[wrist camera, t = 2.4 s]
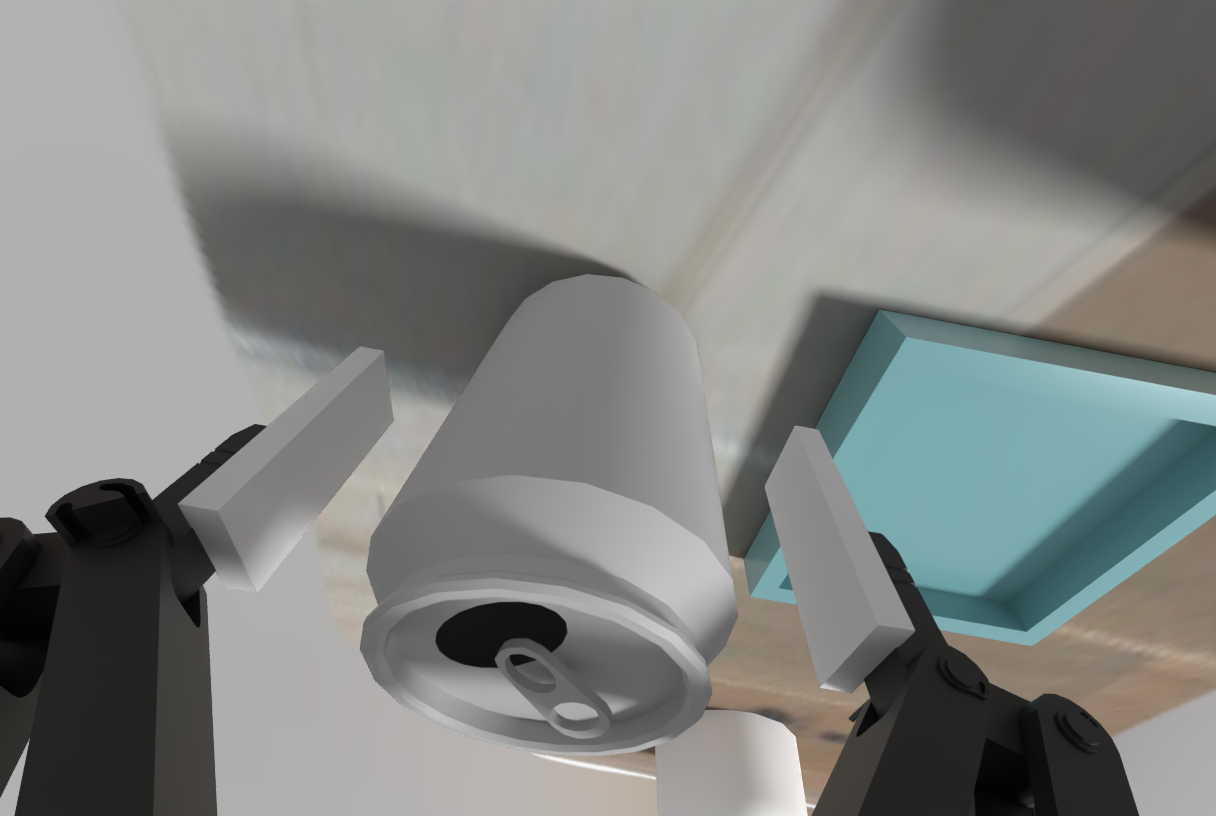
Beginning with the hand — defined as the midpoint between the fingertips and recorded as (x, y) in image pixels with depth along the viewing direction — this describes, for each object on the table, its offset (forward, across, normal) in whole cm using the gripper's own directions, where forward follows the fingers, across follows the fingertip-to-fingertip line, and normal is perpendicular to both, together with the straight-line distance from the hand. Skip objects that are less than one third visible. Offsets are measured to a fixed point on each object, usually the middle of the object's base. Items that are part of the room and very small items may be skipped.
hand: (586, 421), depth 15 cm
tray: (+4, +16, -3) cm, 17 cm away
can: (+4, 0, 0) cm, 4 cm away
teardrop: (+4, +15, -32) cm, 36 cm away
